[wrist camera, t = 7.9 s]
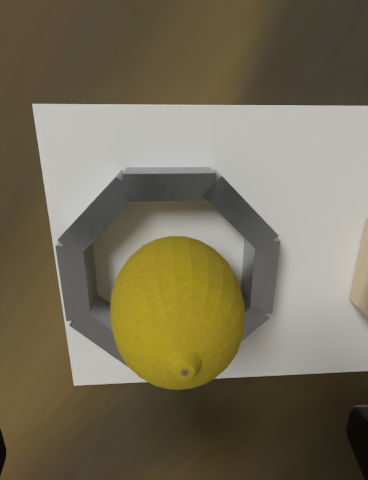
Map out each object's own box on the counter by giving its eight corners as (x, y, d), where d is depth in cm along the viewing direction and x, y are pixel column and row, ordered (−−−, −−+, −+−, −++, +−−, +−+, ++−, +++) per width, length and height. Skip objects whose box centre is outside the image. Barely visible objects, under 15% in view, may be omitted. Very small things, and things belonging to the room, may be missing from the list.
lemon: (241, 274, 18) (300, 386, 11) (159, 324, 19) (161, 460, 11) (187, 193, 16) (214, 260, 9) (99, 252, 17) (53, 359, 9)
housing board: (504, 107, 17) (524, 106, 16) (423, 357, 22) (435, 367, 21) (40, 104, 15) (32, 103, 14) (77, 373, 21) (74, 385, 20)
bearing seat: (273, 166, 16) (288, 172, 14) (256, 340, 20) (266, 363, 18) (59, 167, 15) (44, 174, 13) (82, 347, 19) (73, 372, 17)
